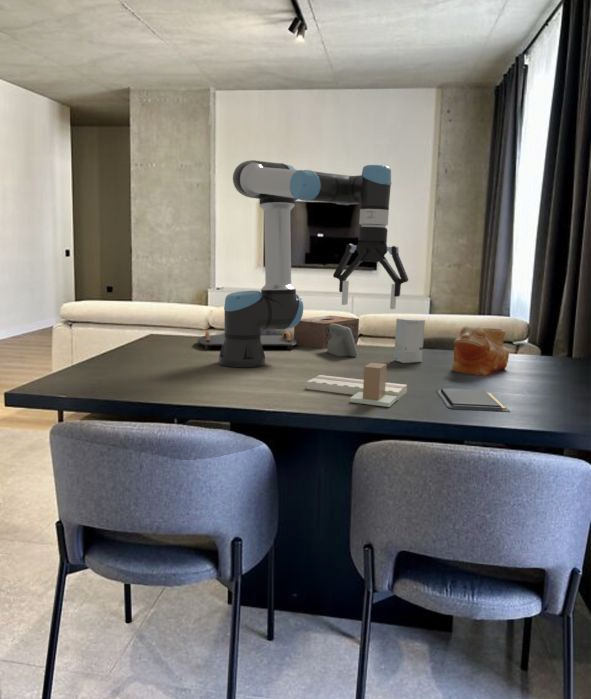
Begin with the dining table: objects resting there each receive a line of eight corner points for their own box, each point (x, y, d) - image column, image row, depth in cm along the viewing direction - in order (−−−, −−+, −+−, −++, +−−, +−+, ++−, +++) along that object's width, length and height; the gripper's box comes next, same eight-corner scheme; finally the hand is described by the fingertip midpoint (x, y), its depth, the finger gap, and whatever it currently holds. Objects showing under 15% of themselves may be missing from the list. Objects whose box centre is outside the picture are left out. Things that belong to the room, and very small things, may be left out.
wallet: (435, 385, 161) (493, 388, 159) (435, 392, 161) (492, 395, 160) (446, 404, 141) (511, 407, 140) (445, 411, 141) (511, 415, 140)
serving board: (197, 351, 214) (197, 335, 213) (197, 342, 237) (197, 326, 236) (301, 351, 221) (302, 335, 220) (291, 342, 243) (292, 327, 242)
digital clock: (358, 358, 209) (360, 328, 207) (334, 357, 207) (335, 328, 205) (348, 350, 224) (349, 322, 223) (324, 350, 223) (325, 322, 221)
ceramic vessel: (439, 372, 187) (443, 325, 185) (476, 362, 206) (479, 319, 204) (481, 379, 178) (485, 330, 176) (515, 368, 197) (519, 323, 195)
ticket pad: (306, 388, 158) (306, 381, 158) (319, 381, 167) (319, 374, 167) (397, 400, 149) (398, 392, 148) (406, 392, 158) (407, 384, 157)
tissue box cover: (329, 338, 256) (330, 315, 254) (357, 342, 247) (359, 318, 246) (293, 344, 235) (294, 319, 234) (323, 349, 227) (324, 323, 225)
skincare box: (402, 363, 200) (405, 319, 198) (392, 360, 205) (395, 317, 203) (423, 362, 203) (425, 319, 201) (413, 359, 209) (415, 317, 206)
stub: (349, 401, 145) (351, 366, 143) (359, 395, 152) (360, 360, 151) (389, 407, 141) (391, 370, 139) (397, 399, 148) (399, 364, 147)
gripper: (324, 224, 157) (320, 303, 161) (416, 227, 147) (410, 311, 150) (334, 225, 163) (330, 301, 167) (423, 228, 153) (417, 309, 157)
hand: (368, 306), depth 159 cm, fingers open, 13 cm apart
